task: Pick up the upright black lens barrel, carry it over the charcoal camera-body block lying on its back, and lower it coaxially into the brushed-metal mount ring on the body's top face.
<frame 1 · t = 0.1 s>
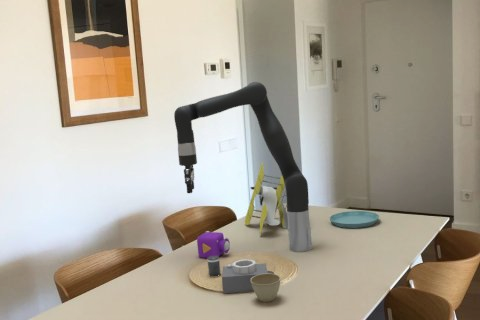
hand: (190, 191, 219), 29 cm above the table, fingers open, 8 cm apart
flower pot: (267, 299, 172), on the table
dark grey ball: (266, 275, 195), on the table
camera body: (245, 285, 185), on the table
biplane: (272, 230, 256), on the table
saucer: (354, 223, 256), on the table
lens: (214, 274, 199), on the table
toy camera: (215, 256, 223), on the table
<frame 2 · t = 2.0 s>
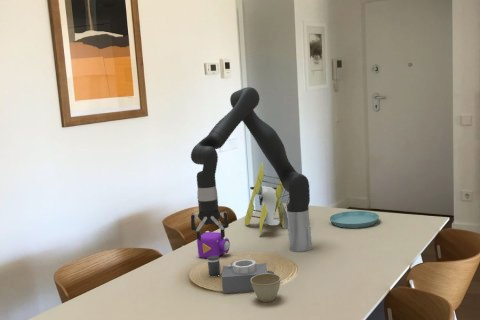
hand: (211, 239, 197), 14 cm above the table, fingers open, 8 cm apart
nothing on the table moved.
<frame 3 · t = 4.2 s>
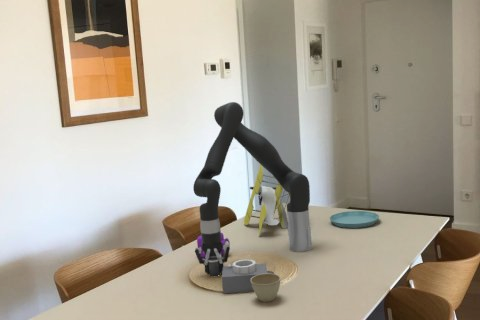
hand: (214, 272, 199), 1 cm above the table, fingers closed on lens, 4 cm apart
lens: (214, 274, 199), on the table, touching gripper
everything else where it was.
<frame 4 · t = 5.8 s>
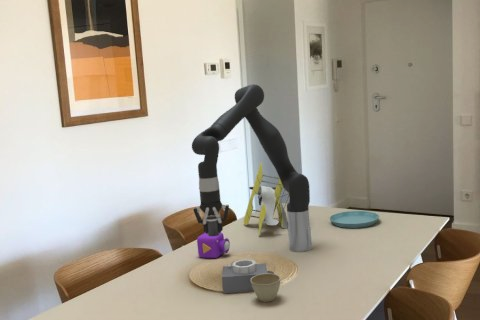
hand: (213, 232, 195), 17 cm above the table, fingers closed on lens, 4 cm apart
lens: (213, 234, 196), point 16 cm above the table, touching gripper
everything else where it was.
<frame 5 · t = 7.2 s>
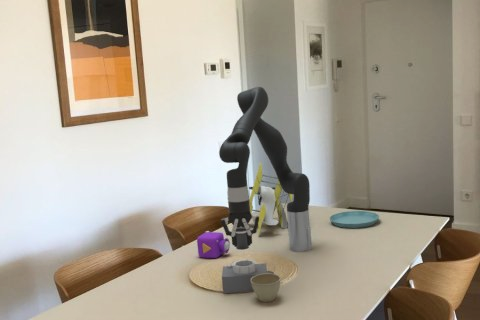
hand: (242, 245, 183), 15 cm above the table, fingers closed on lens, 4 cm apart
lens: (242, 247, 183), point 14 cm above the table, touching gripper
everything else where it was.
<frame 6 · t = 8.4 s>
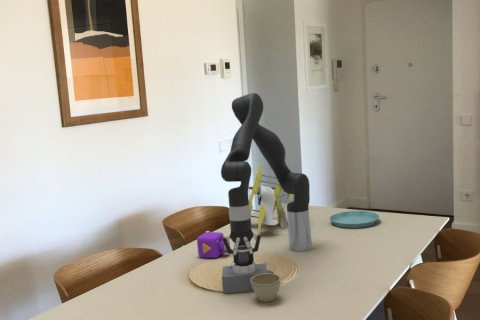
hand: (243, 263, 184), 8 cm above the table, fingers closed on lens, 4 cm apart
lens: (244, 265, 184), point 8 cm above the table, touching gripper
when the fingers open (9 cm above the table, at t = 10.4 s): lens drops 2 cm, resting on camera body.
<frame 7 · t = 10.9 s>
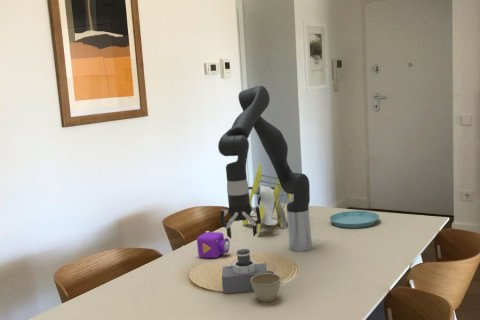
hand: (242, 236, 182), 18 cm above the table, fingers open, 8 cm apart
lens: (244, 269, 184), point 6 cm above the table, touching camera body
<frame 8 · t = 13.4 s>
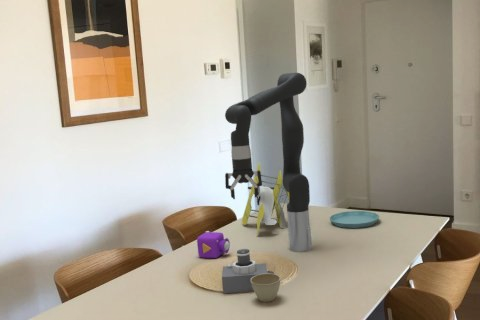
hand: (244, 197, 201), 28 cm above the table, fingers open, 8 cm apart
at the end: lens 0.1 cm off-centre on the camera body, point 6.0 cm above the camera body's base; lens tilted 1°; the gripper is holding nothing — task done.
